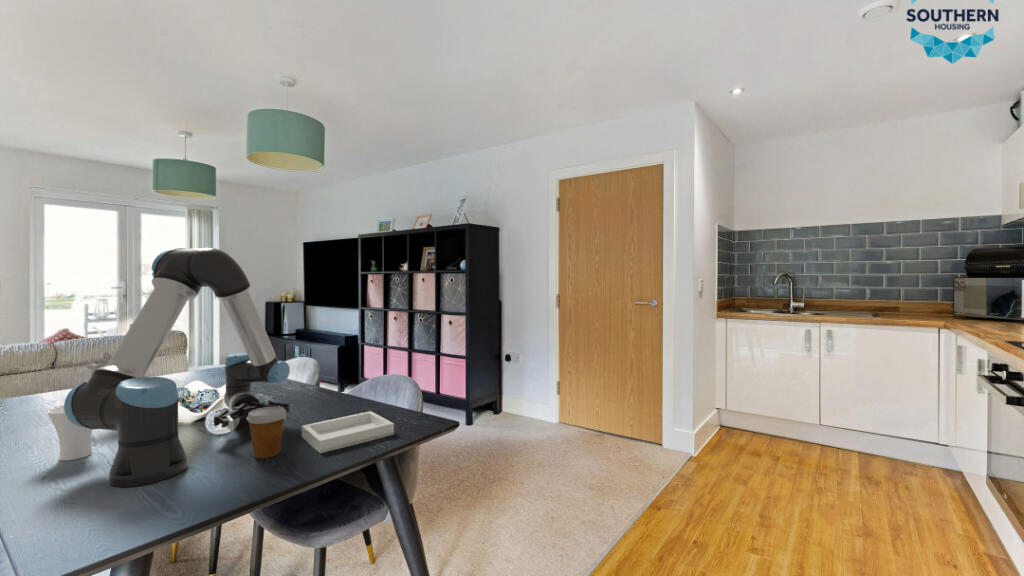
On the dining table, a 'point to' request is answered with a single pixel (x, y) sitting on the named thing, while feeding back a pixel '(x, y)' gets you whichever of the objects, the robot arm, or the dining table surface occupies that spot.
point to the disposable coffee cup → (266, 430)
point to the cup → (70, 436)
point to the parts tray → (346, 431)
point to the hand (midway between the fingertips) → (259, 420)
